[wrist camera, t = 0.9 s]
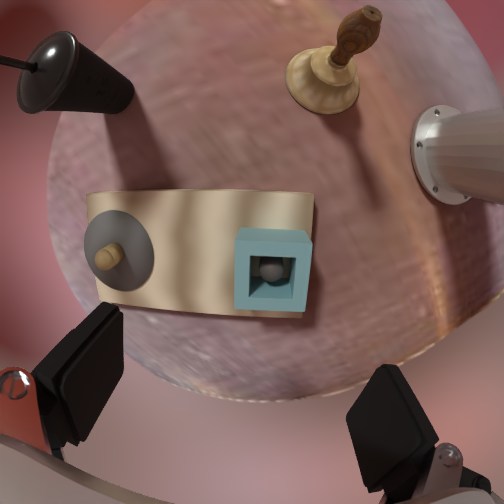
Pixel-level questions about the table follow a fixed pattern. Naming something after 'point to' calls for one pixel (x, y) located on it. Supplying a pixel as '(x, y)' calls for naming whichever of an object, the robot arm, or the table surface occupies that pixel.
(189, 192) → the base board
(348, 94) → the hand bell
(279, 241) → the collar
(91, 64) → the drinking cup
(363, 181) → the table surface
